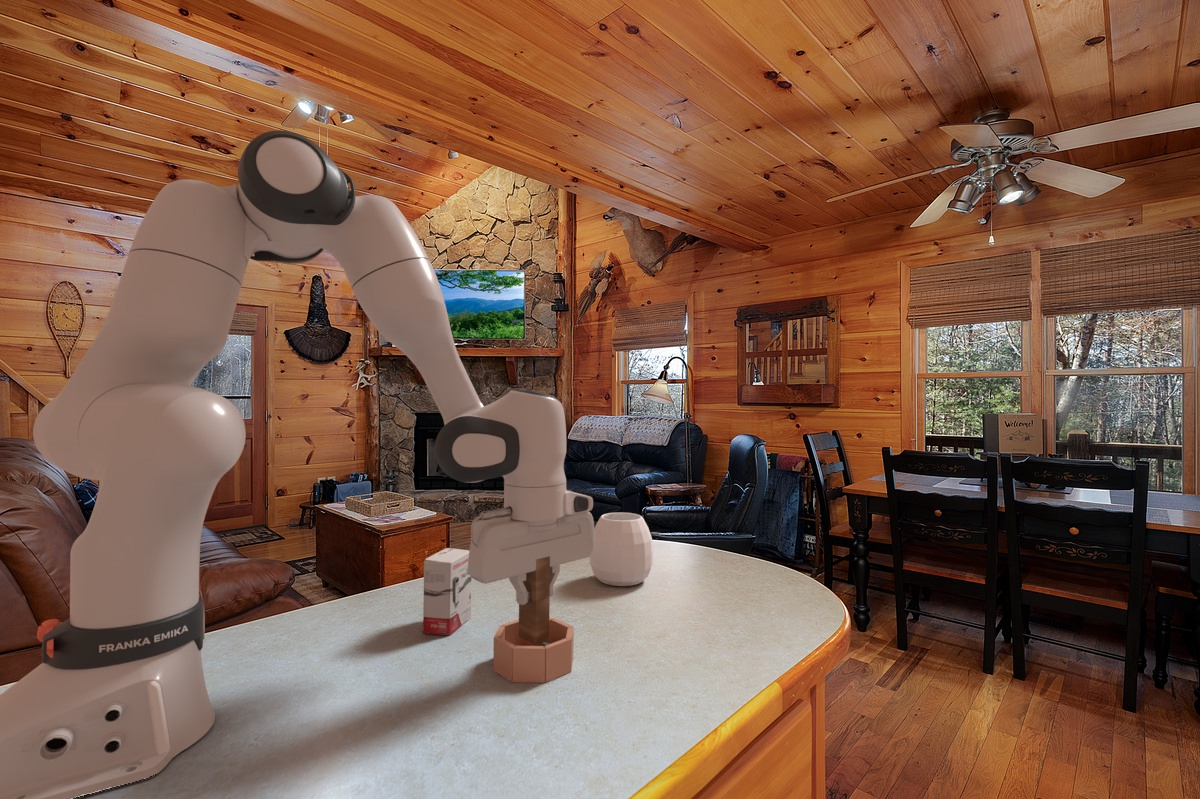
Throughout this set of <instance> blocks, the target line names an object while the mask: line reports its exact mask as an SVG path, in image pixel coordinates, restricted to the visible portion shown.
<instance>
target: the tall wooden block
mask: <svg viewBox="0 0 1200 799" xmlns="http://www.w3.org/2000/svg"><path fill="white" fill-rule="evenodd" d="M523 584H524V586H525V588H526V589H528V590H531V591H532V596H531V598H532V602H530V603H527V604H525V605H521V604H518V620H519V637H520V638H522V639H524V640H526V641H528V642H530V643H532V644H534V645H539V644H541V643H544V642H547V641H549V618H550V605H551V604H550V556H549V557H545V558H541V559H537V560H536V570H535V571H533V572H529V573H526V581H523Z"/></svg>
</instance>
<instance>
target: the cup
mask: <svg viewBox="0 0 1200 799" xmlns="http://www.w3.org/2000/svg"><path fill="white" fill-rule="evenodd" d="M653 560H654V546H653V538H652V534H651V532H650V529H649V526H648V525H647V523H646V521H645V518H644V517H643V516H642V515H640V514H639V513H638V514H637V513H632V512H622V511H621V512H608V513H604V514H602V515H601V516H600V517H599V519H598V521H597V522H596V524H595V525H594V550H593V552H592V553H591V555H590V557H589V565H590V568H591V570H592V573H593V575H594V576H595V578H597V579H598V581H600V582H601V583H602V584H603V583H604V584H605V585H608V586H609V585H610V586H617V587H618V586H619V587H628V586H629V587H630V586H634V585H638V584H640V583H643V582H644V581H645V580H646V579H647V578H649V575H650V572H651V570H652V567H653V564H654V563H653V562H654V561H653Z"/></svg>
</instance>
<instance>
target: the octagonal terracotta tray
mask: <svg viewBox="0 0 1200 799" xmlns="http://www.w3.org/2000/svg"><path fill="white" fill-rule="evenodd" d="M574 629H575V628H574V626H573V625H570V624H569V623H567V622H565V621H562V620H559V619H557V618H555V617H549V641H547V642H544V643H541V644H539V645H534V644H532V643H530V642H528V641H526V640H524V639H522V638H520V637H519V619H516V620H513V621H509V622H506V623H504V624H500V625H499V627H498V629H497V631H496V632H495V635H494V636H493V672H495V673H497V674H498V675H501V676H502V677H503V678H505V679H506V680H508V681H510V682H512V683H541V684H543V683H544V684H545V683H547V682H550V681H553V680H555V679H557V678H560V677H562V676H564V675H567V674H569V673H571V672H572V670H573V662H574V641H575V640H574V639H575V638H574V632H575V630H574Z"/></svg>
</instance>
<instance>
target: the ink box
mask: <svg viewBox="0 0 1200 799" xmlns="http://www.w3.org/2000/svg"><path fill="white" fill-rule="evenodd" d="M469 550H470V549H469ZM469 550H466V549H461V548H460V549H459V548H452V547H451V548H450V547H445V548H444V549H442V550H440V551H438V552H435V553H434V554H432V555H430V556H428V557H426V558H425V560H424V562H423V602H422V603H423V608H422V609H423V615H422V616H423V618H422V620H423V621H422V626H423V627H422V633H423V634H429V635H440V636H441V635H442V636H452V634H453V633H454V632H456V630H458V629H459V628H460V627H461V626H462V625H464V624H465V623H466V622H467V621H469V619H471V618H472V579H473V578H472V577H471V576H470V575H469V573H468V560H469Z"/></svg>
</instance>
